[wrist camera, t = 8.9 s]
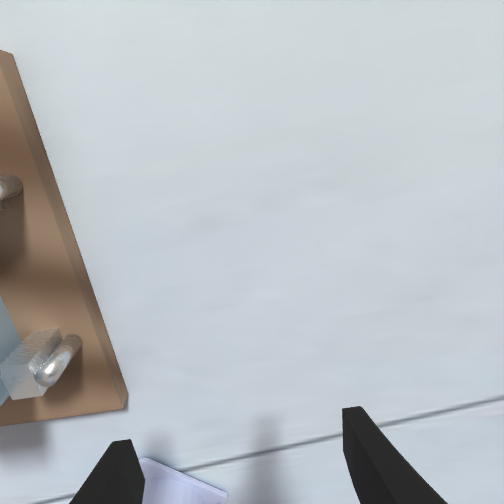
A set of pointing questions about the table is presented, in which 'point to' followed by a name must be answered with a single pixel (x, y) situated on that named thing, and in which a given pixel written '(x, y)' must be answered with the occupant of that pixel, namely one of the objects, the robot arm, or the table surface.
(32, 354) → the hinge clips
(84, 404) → the cabinet panel
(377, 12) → the table surface
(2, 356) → the pale blue square pillar
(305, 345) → the table surface
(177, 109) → the table surface
